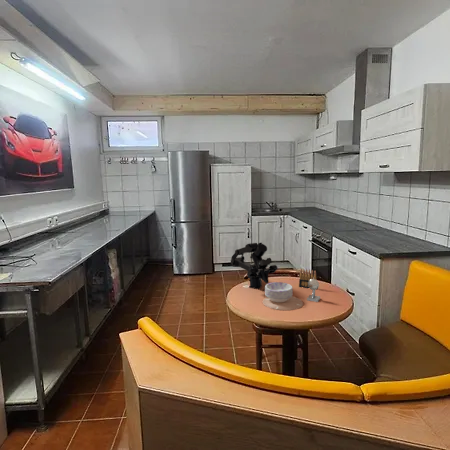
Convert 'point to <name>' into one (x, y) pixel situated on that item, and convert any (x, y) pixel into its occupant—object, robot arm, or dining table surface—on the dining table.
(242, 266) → the robot arm
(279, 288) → the white floral bowl
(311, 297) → the dial gauge stand
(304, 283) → the ammunition clip
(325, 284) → the dining table surface
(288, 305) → the centring plate
